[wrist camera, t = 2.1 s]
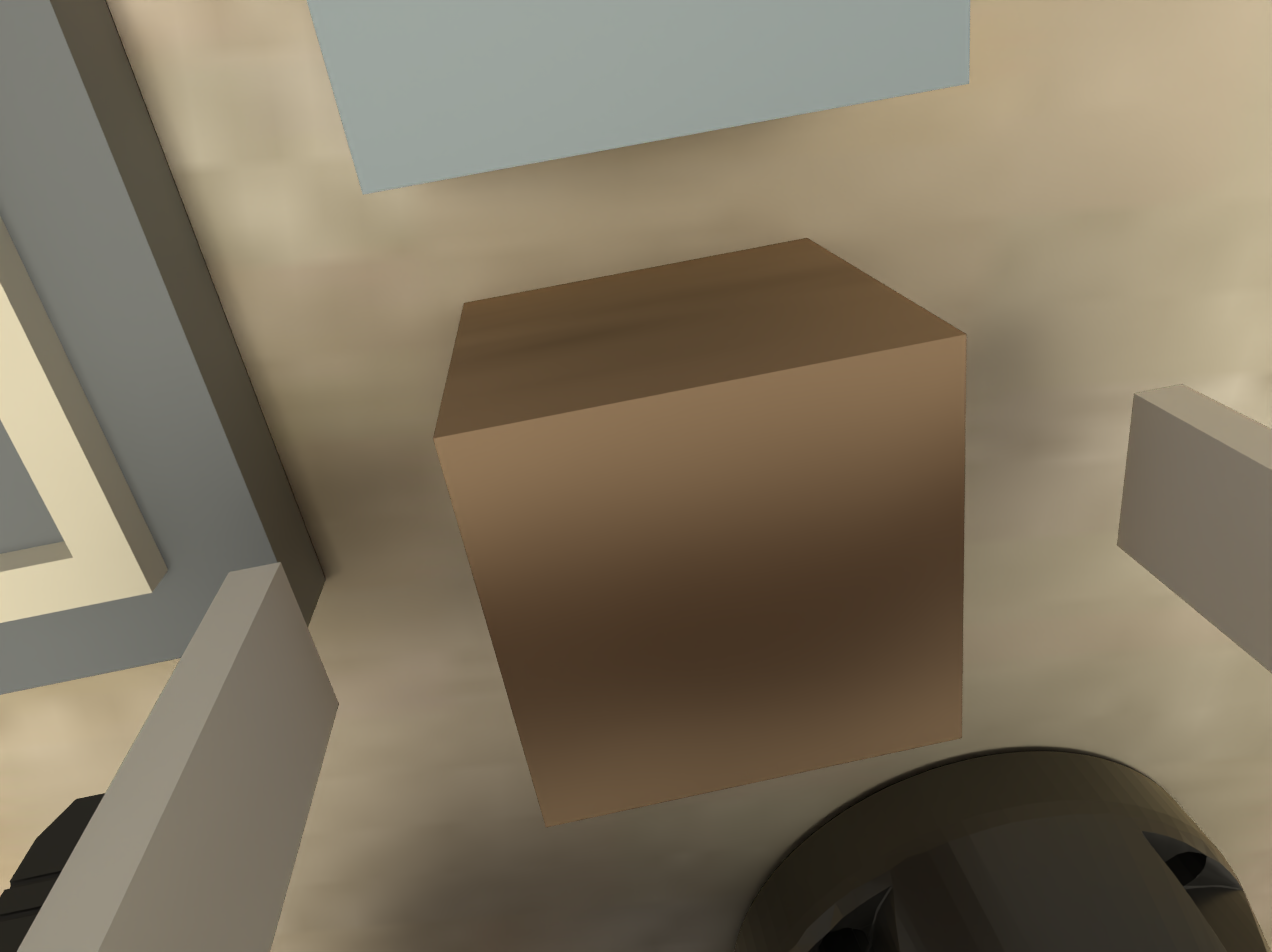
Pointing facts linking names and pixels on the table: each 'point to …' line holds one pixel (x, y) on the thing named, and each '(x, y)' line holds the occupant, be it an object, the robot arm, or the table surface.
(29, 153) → the grey square base plate
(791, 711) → the walnut block
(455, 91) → the slate blue block
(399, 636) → the table surface
